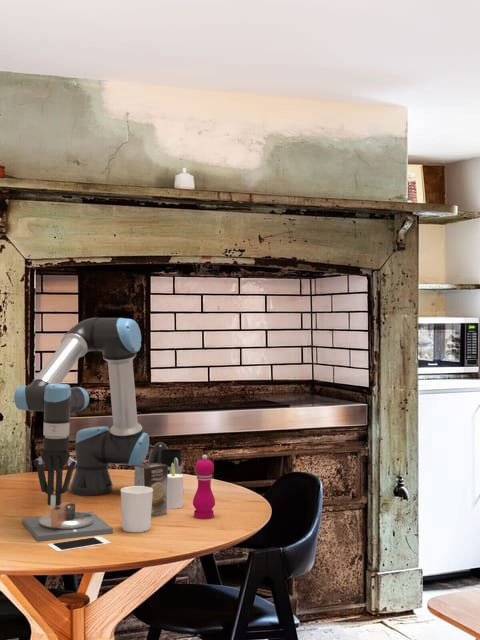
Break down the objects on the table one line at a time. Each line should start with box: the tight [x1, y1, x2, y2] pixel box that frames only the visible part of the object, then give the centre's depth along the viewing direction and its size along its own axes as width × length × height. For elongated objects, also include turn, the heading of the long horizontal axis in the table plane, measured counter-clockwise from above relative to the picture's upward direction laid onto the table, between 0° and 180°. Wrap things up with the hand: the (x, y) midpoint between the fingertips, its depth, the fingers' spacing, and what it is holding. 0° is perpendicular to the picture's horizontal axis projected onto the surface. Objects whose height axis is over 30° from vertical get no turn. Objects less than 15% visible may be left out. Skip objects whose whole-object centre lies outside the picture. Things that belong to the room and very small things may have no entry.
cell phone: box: [47, 535, 111, 553], centre depth 230 cm, size 8×16×1 cm, turn 125°
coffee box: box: [133, 463, 168, 518], centre depth 265 cm, size 9×6×16 cm
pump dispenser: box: [147, 441, 169, 464], centre depth 316 cm, size 10×10×15 cm
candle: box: [167, 463, 184, 510], centre depth 276 cm, size 6×6×15 cm
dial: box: [39, 501, 94, 529], centre depth 245 cm, size 18×16×6 cm
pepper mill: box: [192, 454, 216, 520], centre depth 263 cm, size 7×7×20 cm
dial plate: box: [21, 511, 114, 542], centre depth 246 cm, size 22×22×2 cm
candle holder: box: [119, 485, 153, 533], centre depth 247 cm, size 10×10×12 cm
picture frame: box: [160, 448, 183, 475], centre depth 296 cm, size 9×14×15 cm, turn 18°
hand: (53, 516), depth 241 cm, fingers closed
